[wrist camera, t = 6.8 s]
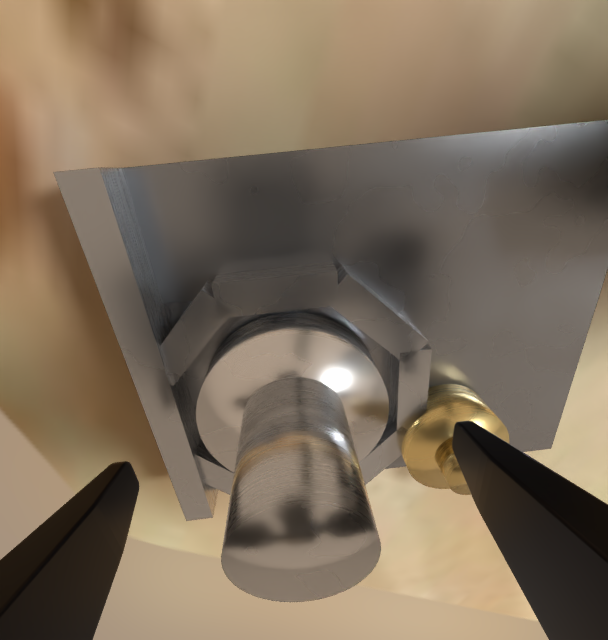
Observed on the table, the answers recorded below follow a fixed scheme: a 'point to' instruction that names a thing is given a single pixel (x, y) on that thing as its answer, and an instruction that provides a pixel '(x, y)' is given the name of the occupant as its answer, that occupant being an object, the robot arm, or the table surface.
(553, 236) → the plate
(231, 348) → the silver metal knob
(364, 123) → the table surface
